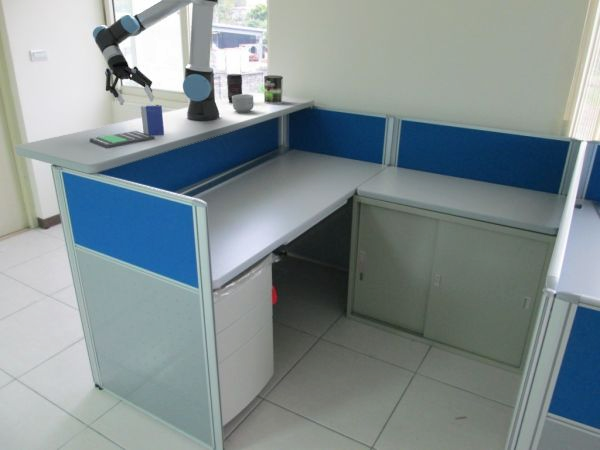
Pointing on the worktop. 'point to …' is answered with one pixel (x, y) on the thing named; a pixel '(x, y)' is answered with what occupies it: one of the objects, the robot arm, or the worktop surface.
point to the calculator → (121, 139)
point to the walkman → (152, 120)
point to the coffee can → (273, 89)
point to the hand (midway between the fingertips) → (138, 101)
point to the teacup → (242, 102)
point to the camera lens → (234, 85)
